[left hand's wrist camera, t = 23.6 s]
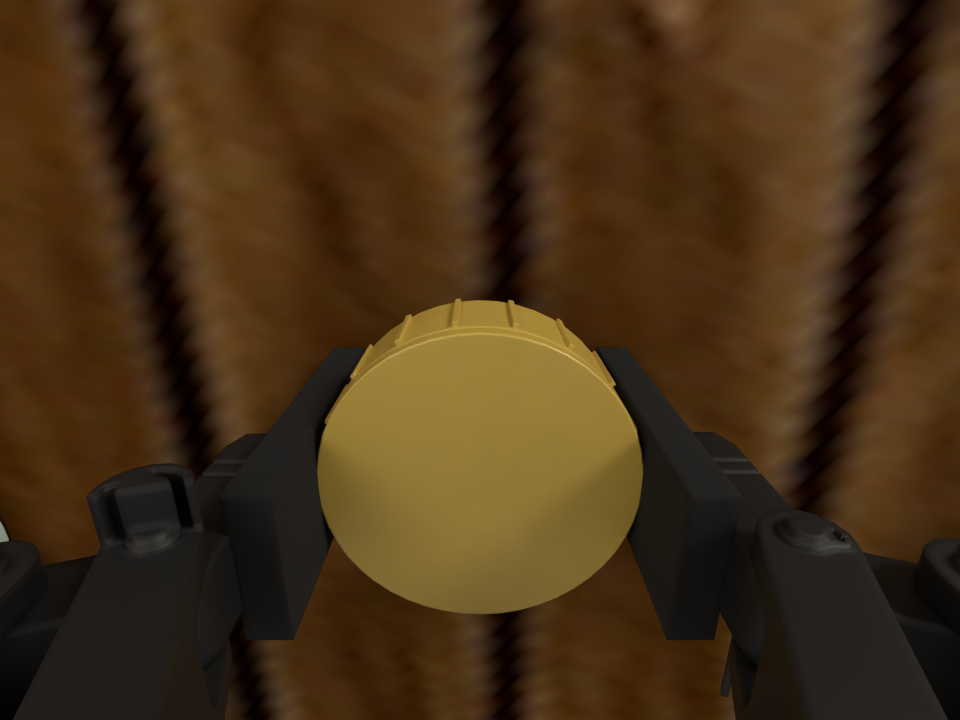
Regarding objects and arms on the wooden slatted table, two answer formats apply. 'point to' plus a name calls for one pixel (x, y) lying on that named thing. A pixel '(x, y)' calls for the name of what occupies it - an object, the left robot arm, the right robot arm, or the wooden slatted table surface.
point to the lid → (479, 460)
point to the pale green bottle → (3, 534)
